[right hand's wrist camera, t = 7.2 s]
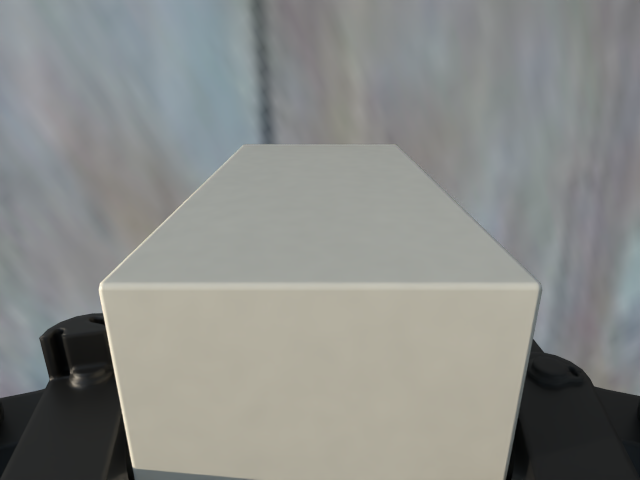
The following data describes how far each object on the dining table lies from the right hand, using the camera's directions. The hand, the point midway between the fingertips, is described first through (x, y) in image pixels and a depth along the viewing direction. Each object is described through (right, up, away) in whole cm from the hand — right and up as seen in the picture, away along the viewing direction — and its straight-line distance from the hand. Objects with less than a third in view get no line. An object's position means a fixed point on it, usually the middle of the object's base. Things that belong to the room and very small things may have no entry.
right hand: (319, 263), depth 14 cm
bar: (0, -11, +5) cm, 12 cm away
